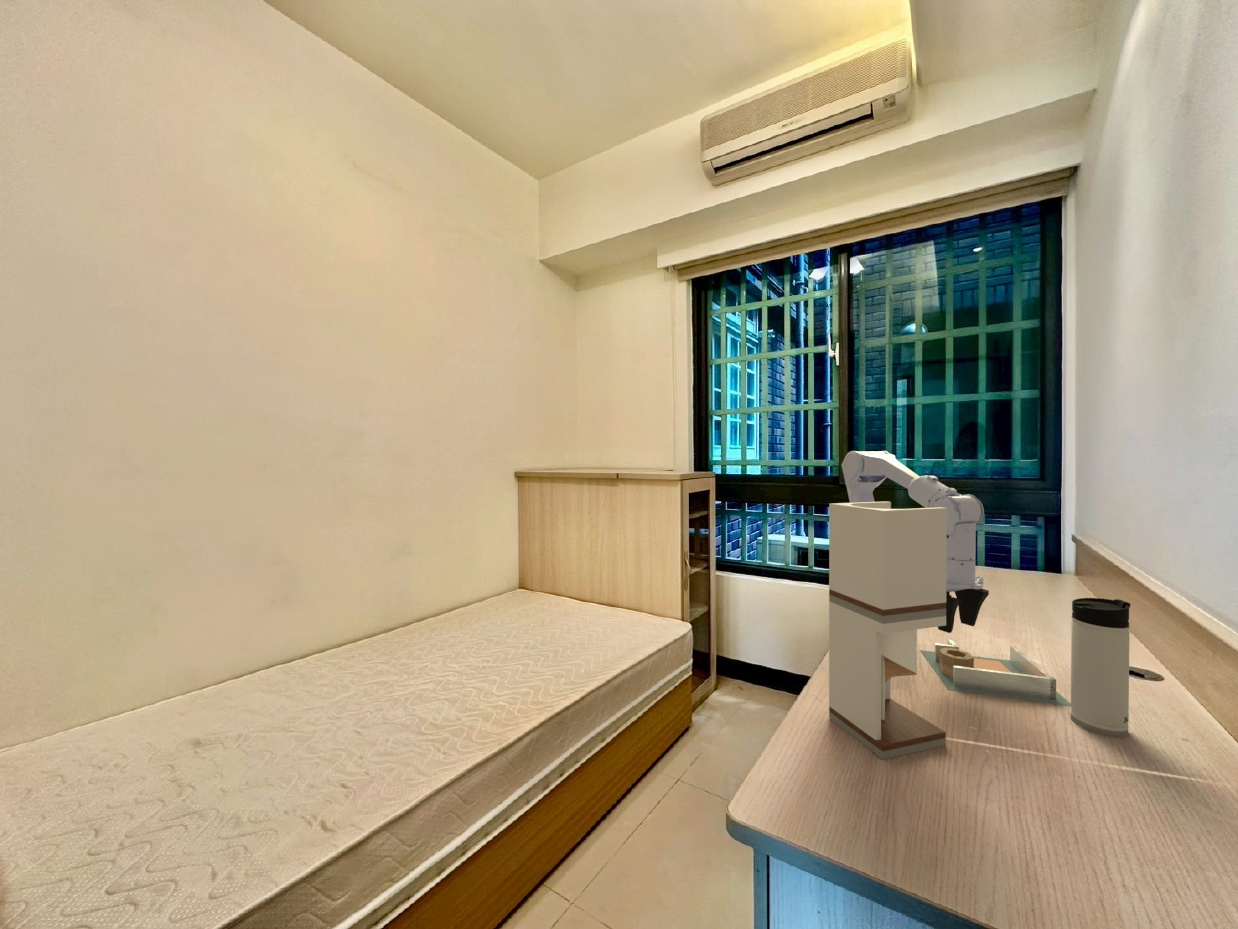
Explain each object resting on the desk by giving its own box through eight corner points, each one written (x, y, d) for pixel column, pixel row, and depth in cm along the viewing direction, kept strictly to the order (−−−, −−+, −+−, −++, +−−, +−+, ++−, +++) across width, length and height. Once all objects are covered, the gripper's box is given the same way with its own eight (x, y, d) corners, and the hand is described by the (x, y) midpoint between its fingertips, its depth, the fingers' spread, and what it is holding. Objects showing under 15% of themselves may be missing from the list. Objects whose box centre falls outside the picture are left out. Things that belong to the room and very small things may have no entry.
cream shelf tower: (882, 759, 65) (883, 510, 64) (829, 718, 75) (829, 503, 74) (945, 745, 68) (946, 507, 67) (885, 708, 78) (886, 501, 77)
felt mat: (948, 691, 83) (948, 689, 83) (919, 651, 100) (919, 650, 100) (1074, 708, 77) (1074, 706, 77) (1021, 663, 94) (1021, 661, 94)
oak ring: (945, 677, 88) (945, 657, 88) (936, 666, 92) (937, 646, 92) (976, 681, 86) (977, 660, 86) (966, 670, 91) (966, 650, 91)
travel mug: (1143, 741, 68) (1145, 607, 68) (1090, 736, 70) (1092, 605, 69) (1108, 718, 74) (1109, 595, 74) (1060, 714, 76) (1061, 593, 76)
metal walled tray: (954, 686, 84) (954, 667, 84) (929, 653, 98) (929, 637, 98) (1056, 700, 80) (1056, 679, 80) (1014, 663, 94) (1014, 646, 94)
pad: (975, 671, 90) (975, 669, 90) (964, 658, 96) (964, 657, 96) (1013, 676, 88) (1013, 674, 88) (999, 662, 94) (999, 661, 94)
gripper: (957, 566, 82) (957, 641, 82) (1001, 557, 88) (1001, 628, 89) (917, 558, 89) (917, 628, 89) (961, 551, 95) (960, 617, 95)
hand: (956, 627), depth 89 cm, fingers open, 7 cm apart
